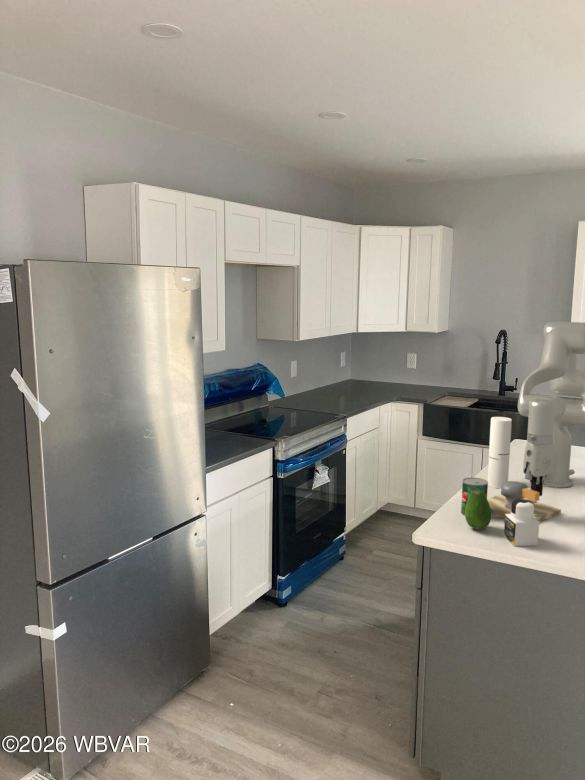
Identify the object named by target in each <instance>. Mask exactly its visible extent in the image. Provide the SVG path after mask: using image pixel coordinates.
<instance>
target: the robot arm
mask: <svg viewBox="0 0 585 780" xmlns="http://www.w3.org/2000/svg"><path fill="white" fill-rule="evenodd" d="M543 338H544V343H543V348H542V353H541V360H540V362H539V363H540V364H539V367H538V368H537V367H536V369H534V370H533V371H532V372H530V374H528V376H527V377H526V378H525V379H524V380H523V383H522V385H521V387H520V389H519V390H520V392H519V395H518V400H517V410H518V413H519V414H520V416H523V417H527V418H528V420H527V421H528V422H527V434H526V437H527V438H526V446H525V450H524V455H523V465H522V473H524V474H525V475H524V479H525V480H527V481H529V483H530V489H531V490H533V491H536V492H539V493H540V495H539V497H542V496H543V487H544V486H546V487H550V488H561V489H562V488H569V487H572V486H573V485H574V481H573V479H571V478H570V476H572V475H574V474H575V472H576V471H575V470H574V469H573V468H572V469H570V464H571V453H572V443H573V442H572V435H571V432H570V431H569V430H568V429H567V427H573V428H574V427H577V428H585V370H581V369H577V360H578V356H577V355H585V322H583V321H582V322H580V321H579V322H577V321H552V322H551V321H550V322H547V323H546V324H544V326H543ZM547 382H549V391H550V393H552V394H553V395H547V394H538V393H537V394H536V393H531V392H532V390H533V389H534V388H535V387H537V386H540V385H541V384H544V383H547ZM555 395H556V396H555ZM559 396H560V397H559ZM561 396H567V397H578V398H581V399H582V400H576V399H568V398H567V399H566V398H562V397H561Z"/></svg>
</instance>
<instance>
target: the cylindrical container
mask: <svg viewBox="0 0 585 780" xmlns="http://www.w3.org/2000/svg"><path fill="white" fill-rule="evenodd" d="M512 422H513V420H512V418H510V417H507V416H506V417H505V416H492V417H491V418H490V429H489V447H488V448H489V450H488V468H487V481H488V485H489V486H491V487H490V488H492V487H494V488H493V489H499V488H501V484H502V483H503V482H506V481H509V470H510V457H511V437H512ZM489 486H488V487H489Z"/></svg>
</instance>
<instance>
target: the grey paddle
mask: <svg viewBox="0 0 585 780" xmlns="http://www.w3.org/2000/svg"><path fill="white" fill-rule="evenodd" d="M500 495H503V496H505V497H508V498H513V499H523V498H527V499H530V500H532V501H537V502H539V501H540V496H539V495H540V493H539V492H536V491H533V490H531V488H528V484H526V483H523V482H520V481H516V480H515V481H513V480H508V481H506V482H503V483H502V484H501V489H500Z"/></svg>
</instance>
